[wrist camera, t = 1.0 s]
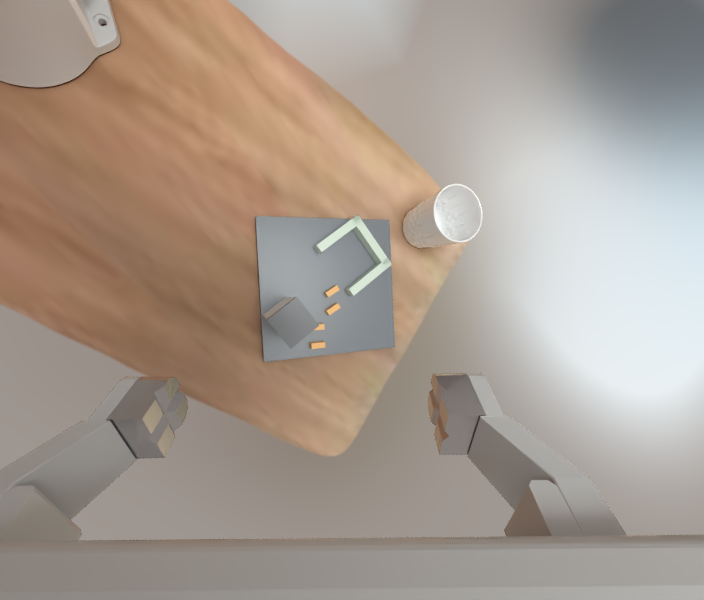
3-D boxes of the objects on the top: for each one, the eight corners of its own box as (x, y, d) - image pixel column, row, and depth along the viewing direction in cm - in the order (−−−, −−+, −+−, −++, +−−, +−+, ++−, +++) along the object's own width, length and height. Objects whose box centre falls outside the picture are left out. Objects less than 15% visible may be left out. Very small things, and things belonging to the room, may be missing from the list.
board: (255, 217, 43) (255, 214, 42) (386, 221, 50) (392, 218, 48) (263, 360, 44) (264, 363, 42) (392, 346, 50) (398, 348, 49)
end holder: (349, 295, 47) (353, 295, 45) (313, 247, 45) (316, 245, 43) (386, 265, 49) (392, 264, 47) (353, 217, 47) (357, 214, 45)
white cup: (401, 199, 51) (437, 177, 41) (443, 209, 53) (485, 191, 44) (396, 247, 50) (430, 236, 41) (437, 255, 53) (479, 247, 43)
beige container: (262, 314, 43) (266, 320, 34) (286, 296, 44) (297, 296, 35) (281, 337, 44) (290, 349, 35) (304, 319, 45) (319, 325, 36)
